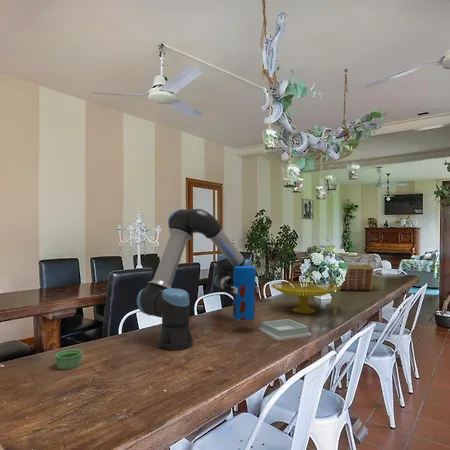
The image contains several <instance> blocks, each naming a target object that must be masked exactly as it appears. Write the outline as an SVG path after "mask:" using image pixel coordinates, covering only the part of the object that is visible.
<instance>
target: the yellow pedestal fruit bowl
mask: <svg viewBox="0 0 450 450" xmlns="http://www.w3.org/2000/svg"><path fill="white" fill-rule="evenodd" d="M270 287H271V288H273V289H275V290H276V291H278V292H280V293H282V294H284V295H288V296H289V295H290V296H296V297H298V300H299V301H298V302H299V306H296V307H294V308H292V309H291V311H293V312H294V313H300V314H312V313H316V310H315V309H314V308H312V307H310V306H309V298H310V297H320V296H321V297H322V296H325V295H328V294H330V293H332V292H335V291H338V288H337V287H335V285H332V284H328V283H322V282H311V281H285V282H284V281H283V282H282V281H281V282H276V283H273V284H271V285H270Z"/></svg>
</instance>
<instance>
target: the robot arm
mask: <svg viewBox="0 0 450 450" xmlns="http://www.w3.org/2000/svg"><path fill="white" fill-rule="evenodd" d="M167 224H168V232H169V234H170V235H169V238H168V240H167V243H166V245H165V247H164V251H163V253H162V255H161V258H160V260H159V263H158V267H157V269H156V271H155V273H154V277H153V279H152V280H151V281H150V280H149V281H148V283H147V285H146V287H145V288H142V289H141V290H140V291H139V292H138V294H137V297H136V306H137V308H138V310H139V311H140V312H141V313H143V314H145V315H147V316H153V317H158V318H161V329H160V331H159V335H158V338H157V347H158V348H160V349H162V350H165V351H180V350H186V349H189V348H191V347H192V346H193V345H194V338H193V334H192V331H191V328H190V301H191V300H190V294H189V292H188V291H186V290H185V289H182V288H173V287H171V285H172V283H173V281H174V277H175V276H176V275H175V274H176V272H177V269H178V267H179V265H180V261H181V258H182V255H183V252H184V250H185V247H186V244H187V242H188V241H189V240H191V239H192V237H193V234H196V233H197V234H198V233H199V234H201V235H203V236H204V237H205V238H206V239H209V240H210V241H211V242H212V243H213V244H214V245H215V247H216V248H217V249H218V251H220V252H221V253H222V254H217V256H216V275H215V277H214V279H213V283H214V285H215V286H216V287H217V288H219V289H222V290H223V291H224V292H227V293H228V294H231V293H232V294H233V293H235V294H238V288H236V287H233V277H232V276H230V275H231V273H234V267H235V266H251V267H254V264H253V261H252V260H251V259H249V258H245V257H244V256H243V254H242V253H241V252H240V250H238V248H237V247H236V246H235V244H234V243H233V242H232V241H231V239H230V238H229V237H228V235H227V234H226V233H225V231H224V230H223V229H222V228H223V227H222V224H221V223H220V222H219V220H218V219H217V218H215V216H213V215H212V214H211V213H210V212H208V211H205V210H204V209H202V208H192V209H189V208H188V209H185V208H184V209H183V208H180V209H176V210H174V211H172V212H171V214H170V215H169V217H168V219H167ZM255 293H260V286H258V285H257V284H255Z"/></svg>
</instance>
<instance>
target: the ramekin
mask: <svg viewBox="0 0 450 450" xmlns="http://www.w3.org/2000/svg"><path fill="white" fill-rule="evenodd" d="M82 355H83V351H82V350H80V349H65V350H60V351H59V352H57V353H56V354H55V355H54V357H55V361H56V367H57V369H59V370H70V369H74V368H77V367H79V366H80V365H81V363H82Z"/></svg>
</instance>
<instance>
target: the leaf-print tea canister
mask: <svg viewBox="0 0 450 450" xmlns="http://www.w3.org/2000/svg"><path fill="white" fill-rule="evenodd" d="M232 278H233V287H236V288H238V294H235V293H233V292H232V294H233V295H232V316H233V319H235V320H238V321H251V320H254V319H255V317H256V315H255V314H256V292H255V285H256V267H255V266H253V267H251V266H235V267H234V272H233V277H232Z"/></svg>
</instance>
